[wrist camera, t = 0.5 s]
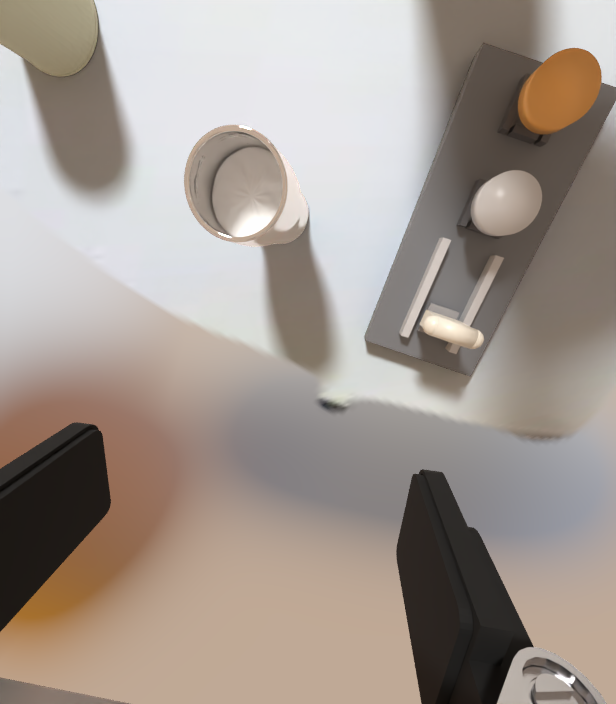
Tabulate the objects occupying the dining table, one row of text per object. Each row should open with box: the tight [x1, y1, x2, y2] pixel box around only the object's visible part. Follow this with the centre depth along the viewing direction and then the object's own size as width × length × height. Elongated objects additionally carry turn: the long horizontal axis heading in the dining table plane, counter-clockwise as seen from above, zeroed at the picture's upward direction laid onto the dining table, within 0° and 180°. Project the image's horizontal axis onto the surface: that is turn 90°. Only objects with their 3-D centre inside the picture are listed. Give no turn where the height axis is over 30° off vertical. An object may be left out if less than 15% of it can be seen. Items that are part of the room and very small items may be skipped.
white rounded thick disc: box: [471, 170, 542, 236], centre depth 27 cm, size 5×5×3 cm
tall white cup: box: [184, 125, 309, 247], centre depth 27 cm, size 7×7×15 cm
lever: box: [417, 302, 484, 349], centre depth 30 cm, size 3×5×6 cm, turn 72°
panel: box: [365, 43, 616, 376], centre depth 31 cm, size 27×12×3 cm, turn 162°
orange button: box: [518, 48, 601, 135], centre depth 25 cm, size 5×5×3 cm
